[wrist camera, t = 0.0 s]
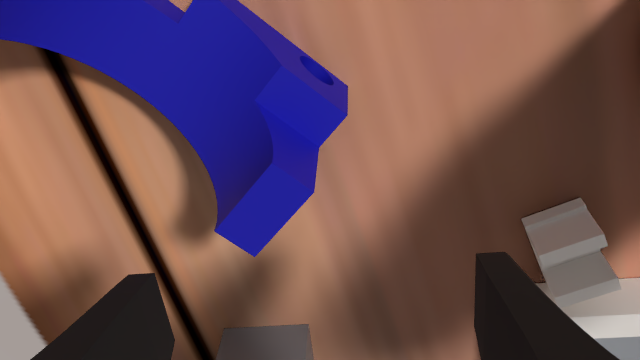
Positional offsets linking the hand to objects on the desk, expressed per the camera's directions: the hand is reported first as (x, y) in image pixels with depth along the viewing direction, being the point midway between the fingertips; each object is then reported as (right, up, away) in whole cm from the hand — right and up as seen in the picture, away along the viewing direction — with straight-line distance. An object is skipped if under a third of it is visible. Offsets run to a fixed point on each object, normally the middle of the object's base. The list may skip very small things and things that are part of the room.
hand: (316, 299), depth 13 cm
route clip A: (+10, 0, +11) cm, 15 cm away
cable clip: (-5, +8, +8) cm, 12 cm away
